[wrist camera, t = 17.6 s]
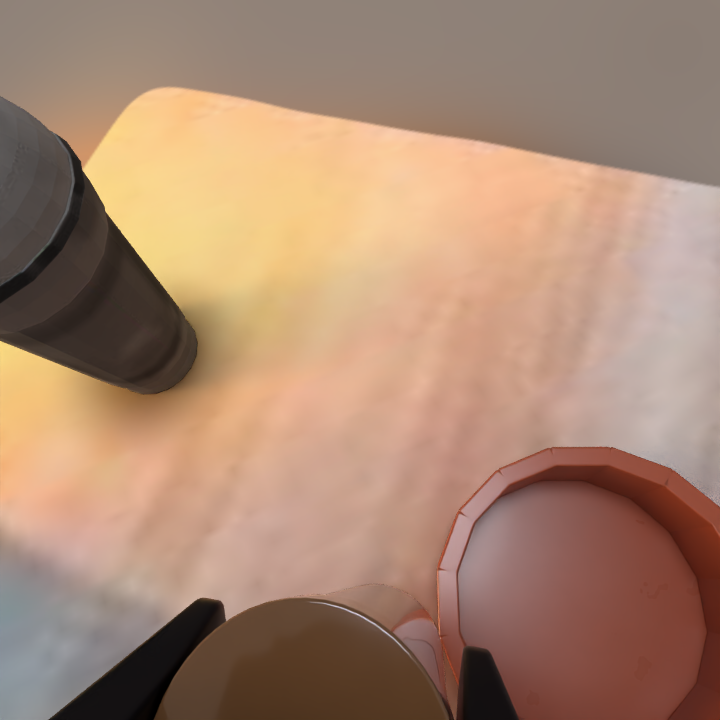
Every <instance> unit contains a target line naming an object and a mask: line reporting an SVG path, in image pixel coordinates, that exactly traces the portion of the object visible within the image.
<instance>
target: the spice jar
mask: <svg viewBox="0 0 720 720" xmlns="http://www.w3.org/2000/svg"><path fill="white" fill-rule="evenodd" d="M154 720H454V718H453V715H452V712H451V709H450V706H449V703H448V700H447V690H446V679H445V668H444V657H443V648H442V644H441V639H440V636H439V633H438V630H437V628H436V626H435V624H434V622H433V620H432V618H431V617H430V615H429V614H428V612H427V611H426V610H425V609H424V607H423V606H422V605H421V604H420V603H419V602H418V601H417V600H416V599H415V598H413V597H412V596H410V595H409V594H408V593H406V592H404V591H402V590H400V589H398V588H395V587H393V586H388V585H384V584H366V585H361V586H356V587H353V588H349V589H345V590H341V591H337V592H334V593H330V594H326V595H321V594H312V595H299V596H294V597H289V598H284V599H279V600H274V601H270V602H266V603H263V604H260V605H257V606H255V607H252V608H249V609H247V610H245V611H243V612H241V613H239V614H237V615H236V616H234V617H232V618H230V619H229V620H228V621H226V622H225V623H223V624H222V625H220V626H219V627H217V628H216V629H215V630H214V631H213V632H212V633H210V634H209V635H208V636H207V637H206V638H205V639H204V640H203V641H201V642H200V644H199V645H198V646H197V647H196V648H195V649H194V650H193V652H192V653H191V654H190V655H189V656H188V657H187V658H186V660H185V661H184V663H183V664H182V666H181V667H180V668H179V670H178V671H177V673H176V674H175V676H174V677H173V679H172V681H171V683H170V685H169V687H168V688H167V690H166V692H165V694H164V696H163V698H162V700H161V703H160V705H159V708H158V710H157V713H156V715H155V718H154Z"/></svg>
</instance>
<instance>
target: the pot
mask: <svg viewBox="0 0 720 720" xmlns="http://www.w3.org/2000/svg"><path fill="white" fill-rule="evenodd" d="M437 568H438V569H437V599H438V630H439V636H440V639H441V643H442V646H443V648H444V651H445V653H446V656H447V658H448V661H449V664H450V666H451V669H452V671H453V674H454V676H455V679H456V681H457V684H458V686H459V676H460V669H461V661H462V653H463V648H464V647H465V646H474V647H479V648H485V649H487V650H489V651H490V653H491V654H492V656H493V659H494V661H495V663H496V666H497V668H498V670H499V673H500V675H501V677H502V680H503V682H504V685H505V687H506V689H507V692H508V694H509V696H510V699H511V701H512V703H513V706H514V708H515V711H516V713H517V715H518V718H519V720H720V507H719V506H718V505H716V504H715V503H714V502H713V501H711V500H710V499H709V498H708V497H706V496H705V495H704V494H703V493H701V492H700V491H699V490H698V489H696V488H695V487H694V486H693V485H691V484H690V483H689V482H688V481H686V480H685V479H684V478H683V477H681V476H680V475H679V474H678V473H676V472H675V471H674V470H672V469H671V468H668V467H665V466H662V465H660V464H657V463H654V462H651V461H649V460H646V459H643V458H640V457H638V456H635V455H632V454H629V453H627V452H624V451H621V450H618V449H616V448H613V447H611V448H610V447H552V448H547V449H545V450H542V451H540V452H537V453H535V454H533V455H530V456H528V457H525V458H523V459H521V460H518V461H516V462H514V463H511V464H509V465H506V466H504V467H502V468H499V469H498V470H497V471H495V472H494V473H493V474H492V475H491V476H490V478H489V479H488V480H487V481H486V482H485V483H484V484H483V485H482V486H481V487H480V488H479V489H478V490H477V491H476V492H475V493H474V494H473V495H472V497H471V498H470V499H469V500H468V501H467V502H466V503H465V504H464V505H463V506H462V507H461V508H460V509H459V511H458V513H457V515H456V517H455V519H454V522H453V525H452V527H451V530H450V533H449V536H448V538H447V541H446V544H445V547H444V549H443V552H442V555H441V558H440V560H439V563H438V566H437Z"/></svg>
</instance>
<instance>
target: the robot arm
mask: <svg viewBox="0 0 720 720" xmlns="http://www.w3.org/2000/svg"><path fill="white" fill-rule="evenodd" d="M225 622H226V619H225V611H224V605H223V603H222V602H221V601H219V600H214V599H209V598H200V599H197V600H196V601H194V602H193V603H192V604H191V605H190V606H188V607H187V608H186V609H185V610H183V611H182V612H181V613H180V614H178V615H177V616H176V617H175V618H173V619H172V620H171V621H170V622H169V623H167V624H166V625H165V626H164V627H162V628H161V629H160V630H159V631H157V632H156V633H155V634H154V635H152V636H151V637H150V638H149V639H148V640H146V641H145V642H144V643H143V644H141V645H140V646H139V647H138V648H136V649H135V650H134V651H133V652H131V653H130V654H129V655H128V656H127V657H125V658H124V659H123V660H122V661H120V662H119V663H118V664H117V665H115V666H114V667H113V668H112V669H110V670H109V671H108V672H107V673H106V674H104V675H103V676H102V677H101V678H99V679H98V680H97V681H96V682H94V683H93V684H92V685H91V686H89V687H88V688H87V689H86V690H85V691H83V692H82V693H81V694H80V695H78V696H77V697H76V698H75V699H73V700H72V701H71V702H70V703H68V704H67V705H66V706H65V707H64V708H62V709H61V710H60V711H59V712H57V713H56V714H55V715H54V716H52V717H51V718H50V719H49V720H154V718H155V715H156V713H157V710H158V708H159V705H160V703H161V700H162V698H163V696H164V694H165V692H166V690H167V688H168V687H169V685H170V683H171V681H172V679H173V677H174V676H175V674H176V673H177V671H178V670H179V668H180V667H181V666H182V664H183V663H184V661H185V660H186V658H187V657H188V656H189V655H190V654H191V653H192V652H193V650H194V649H195V648H196V647H197V646H198V645H199V644H200V642H201V641H203V640H204V639H205V638H206V637H207V636H208V635H209V634H210V633H212V632H213V631H214V630H215V629H216V628H217V627H219V626H220V625H222V624H223V623H225ZM457 720H519V718H518V715H517V713H516V711H515V708H514V706H513V703H512V701H511V699H510V696H509V694H508V692H507V689H506V687H505V685H504V682H503V680H502V677H501V675H500V673H499V670H498V668H497V666H496V663H495V661H494V659H493V656H492V654H491V653H490V651H489V650H487V649H485V648H479V647H474V646H465V647H464V648H463V653H462V661H461V669H460V676H459V686H458V704H457Z"/></svg>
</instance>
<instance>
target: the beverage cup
mask: <svg viewBox="0 0 720 720" xmlns="http://www.w3.org/2000/svg"><path fill="white" fill-rule="evenodd" d="M0 341H2V342H5V343H7V344H10V345H12V346H15V347H17V348H20V349H22V350H25V351H27V352H30V353H32V354H35V355H37V356H40V357H42V358H45V359H48V360H50V361H53V362H55V363H58V364H60V365H63V366H65V367H68V368H70V369H73V370H75V371H78V372H80V373H83V374H85V375H88V376H90V377H93V378H96V379H98V380H101V381H103V382H106V383H108V384H111V385H114V386H118V387H122V388H127V389H128V390H130V391H133V392H137V393H140V394H155V393H159V392H161V391H164V390H167V389H169V388H171V387H172V386H174V385H175V384H176V383H178V382H179V381H181V380H182V379H183V377H184V376H185V375H186V374H187V372H188V371H189V370H190V369H191V366H192V364H193V362H194V359H195V357H196V351H197V340H196V336H195V332H194V330H193V328H192V327H191V326H190V324H189V323H188V321H187V320H186V319H185V316H184V315H183V313H182V312H181V310H180V309H179V307H178V306H177V305H176V303H175V302H174V301H173V299H172V298H171V297H170V296H169V294H168V293H167V292H166V290H165V289H164V288H163V286H162V285H161V284H160V282H159V281H158V280H157V279H156V277H155V276H154V275H153V273H152V272H151V271H150V269H149V268H148V267H147V265H146V264H145V263H144V261H143V260H142V259H141V258H140V256H139V255H138V254H137V252H136V251H135V250H134V248H133V247H132V246H131V244H130V243H129V242H128V241H127V239H126V238H125V237H124V235H123V234H122V233H121V231H120V230H119V229H118V227H117V226H116V225H115V224H114V222H113V221H112V220H111V218H110V217H109V216H108V214H107V213H106V212H105V207H104V205H103V203H102V201H101V200H100V198H99V196H98V194H97V193H96V191H95V189H94V187H93V186H92V184H91V182H90V181H89V179H88V178H87V176H86V175H85V174H84V172H83V171H82V166H81V161H80V160H79V158H78V157H77V156H76V154H75V153H74V151H73V150H72V149H71V147H70V146H69V144H68V143H67V142H66V141H65V140H64V139H62V138H61V137H60V136H58V135H57V134H55V133H53V132H51V131H49V130H48V129H47V128H46V127H45V126H44V125H43V124H42V123H41V122H40V121H39V120H37V119H36V118H34V117H33V116H32V115H31V114H29V113H28V112H27V111H25V110H24V109H22V108H20V107H18V106H17V105H15V104H13V103H11V102H10V101H8V100H6V99H4V98H3V97H1V96H0Z"/></svg>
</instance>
